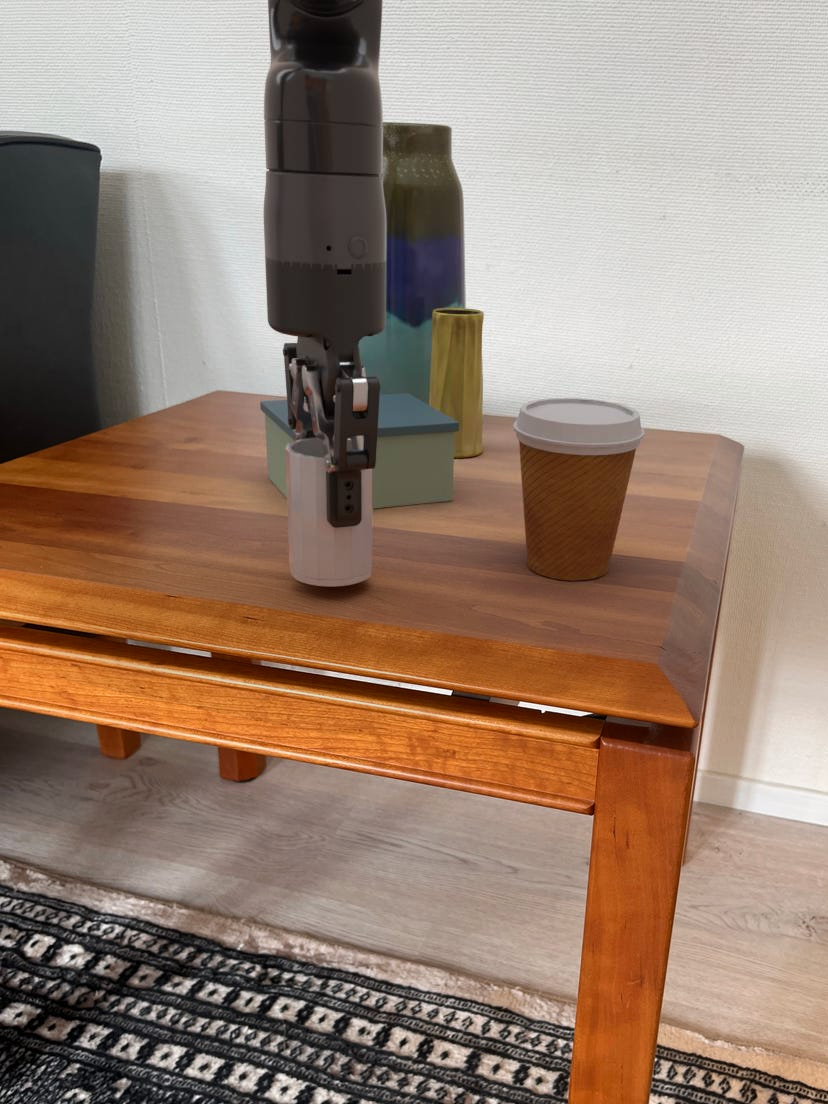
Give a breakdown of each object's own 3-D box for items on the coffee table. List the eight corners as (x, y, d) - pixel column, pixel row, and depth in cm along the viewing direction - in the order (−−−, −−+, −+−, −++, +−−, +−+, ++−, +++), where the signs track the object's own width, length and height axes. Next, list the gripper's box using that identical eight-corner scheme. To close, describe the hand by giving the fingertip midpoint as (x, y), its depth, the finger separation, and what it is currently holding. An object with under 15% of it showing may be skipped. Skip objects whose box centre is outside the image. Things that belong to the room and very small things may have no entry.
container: (299, 517, 87) (296, 433, 84) (264, 477, 97) (260, 401, 94) (457, 501, 92) (459, 422, 89) (407, 465, 103) (408, 393, 100)
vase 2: (438, 460, 105) (441, 316, 99) (417, 445, 110) (418, 307, 104) (492, 456, 107) (498, 314, 101) (469, 441, 112) (473, 306, 106)
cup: (302, 591, 69) (298, 461, 65) (281, 561, 74) (276, 439, 70) (383, 581, 72) (384, 455, 68) (357, 553, 76) (357, 434, 72)
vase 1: (437, 434, 115) (443, 122, 101) (327, 419, 119) (319, 119, 106) (481, 410, 126) (491, 128, 113) (380, 398, 131) (378, 125, 117)
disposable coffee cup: (627, 595, 74) (644, 430, 69) (497, 582, 75) (504, 420, 70) (632, 551, 82) (648, 401, 77) (515, 539, 84) (523, 392, 78)
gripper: (240, 242, 68) (252, 486, 75) (297, 264, 56) (305, 551, 63) (348, 243, 71) (350, 478, 78) (424, 265, 59) (418, 539, 66)
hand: (330, 509), depth 71 cm, fingers closed on cup, 6 cm apart
